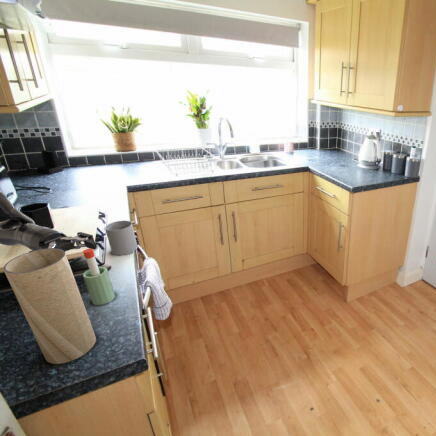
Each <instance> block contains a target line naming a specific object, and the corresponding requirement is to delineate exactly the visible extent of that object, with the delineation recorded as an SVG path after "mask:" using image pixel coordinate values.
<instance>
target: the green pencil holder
mask: <svg viewBox="0 0 436 436" xmlns="http://www.w3.org/2000/svg"><path fill="white" fill-rule="evenodd" d="M98 269H99V272H100V275H97V276H93V277H92V276H91V273H90V270H89V269H87V270H85V271H84V272H83V274H82V278H83V281H84V283H85V286H86V289H87V292H88V295H89V298H90V301H91V303H92V304H93V305H94V306H101V305H102V306H103V305H105V304H108V303H110V302H112V301H113V300H114V299H115V296H116V294H115V290H114V287H113V285H112V281H111V277H110V274H109V272H108V268H107V267H106V266H98Z"/></svg>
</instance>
